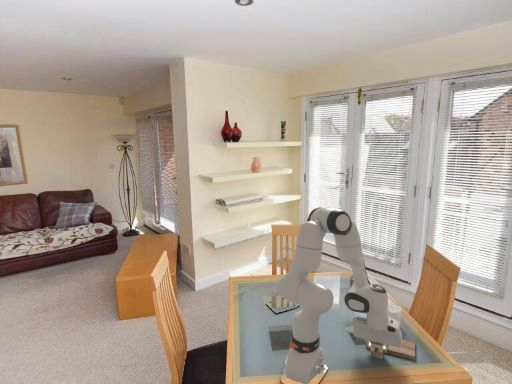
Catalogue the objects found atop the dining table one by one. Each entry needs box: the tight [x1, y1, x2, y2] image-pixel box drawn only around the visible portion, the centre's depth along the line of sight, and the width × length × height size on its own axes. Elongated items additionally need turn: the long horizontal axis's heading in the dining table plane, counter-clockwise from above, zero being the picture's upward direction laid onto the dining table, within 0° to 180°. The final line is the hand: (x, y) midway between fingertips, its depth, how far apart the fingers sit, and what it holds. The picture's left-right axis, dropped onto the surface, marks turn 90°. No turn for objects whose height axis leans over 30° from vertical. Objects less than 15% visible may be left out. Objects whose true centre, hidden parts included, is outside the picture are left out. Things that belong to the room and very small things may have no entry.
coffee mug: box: [349, 274, 354, 289], centre depth 184 cm, size 13×10×10 cm
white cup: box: [387, 303, 402, 329], centre depth 149 cm, size 8×8×10 cm
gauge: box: [370, 341, 385, 360], centre depth 133 cm, size 16×5×6 cm, turn 152°
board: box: [365, 338, 416, 361], centre depth 134 cm, size 11×20×2 cm, turn 62°
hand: (377, 349), depth 129 cm, fingers closed on gauge, 5 cm apart
